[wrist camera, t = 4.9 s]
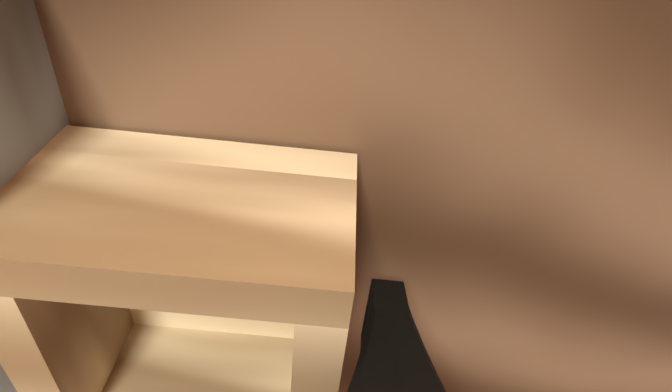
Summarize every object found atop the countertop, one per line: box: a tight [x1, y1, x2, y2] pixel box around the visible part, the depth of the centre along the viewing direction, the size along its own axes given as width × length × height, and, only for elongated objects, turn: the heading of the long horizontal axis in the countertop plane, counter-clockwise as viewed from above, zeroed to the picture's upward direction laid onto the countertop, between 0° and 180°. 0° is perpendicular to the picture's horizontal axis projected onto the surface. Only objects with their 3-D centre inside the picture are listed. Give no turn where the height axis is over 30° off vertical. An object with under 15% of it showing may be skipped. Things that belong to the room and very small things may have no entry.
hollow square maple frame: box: [0, 125, 357, 392], centre depth 11 cm, size 6×6×4 cm
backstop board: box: [0, 0, 672, 392], centre depth 11 cm, size 14×24×5 cm, turn 85°
